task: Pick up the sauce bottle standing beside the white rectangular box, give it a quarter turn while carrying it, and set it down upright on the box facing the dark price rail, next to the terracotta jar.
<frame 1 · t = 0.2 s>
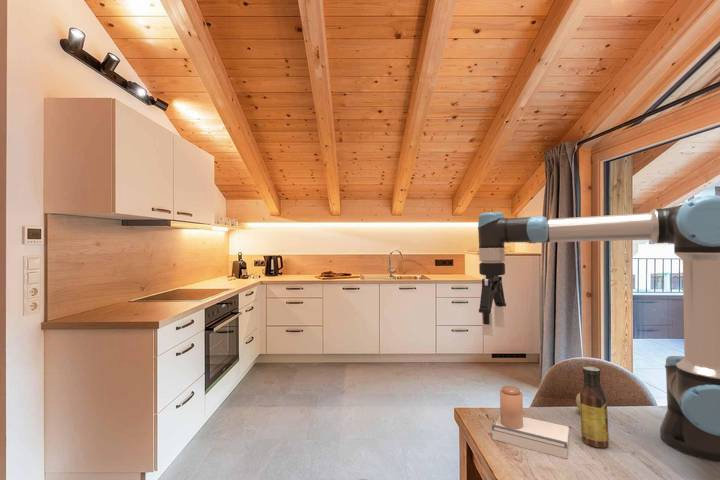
hand: (493, 330, 110), 28 cm above the table, fingers open, 13 cm apart
fruit: (589, 414, 113), on the table
sauce bottle: (594, 443, 97), on the table
terracotta jar: (511, 423, 102), point 2 cm above the table, touching white rectangular box
white rectangular box: (531, 437, 100), on the table
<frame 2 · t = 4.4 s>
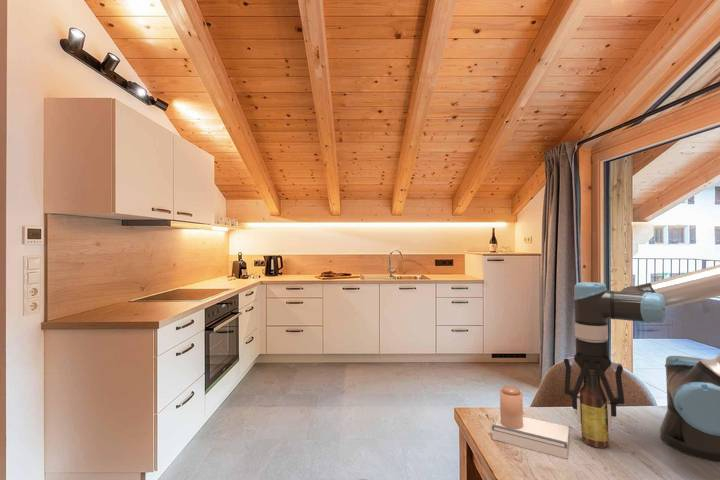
hand: (594, 424, 97), 5 cm above the table, fingers closed on sauce bottle, 6 cm apart
sauce bottle: (594, 443, 97), on the table, touching gripper
everything else where it was.
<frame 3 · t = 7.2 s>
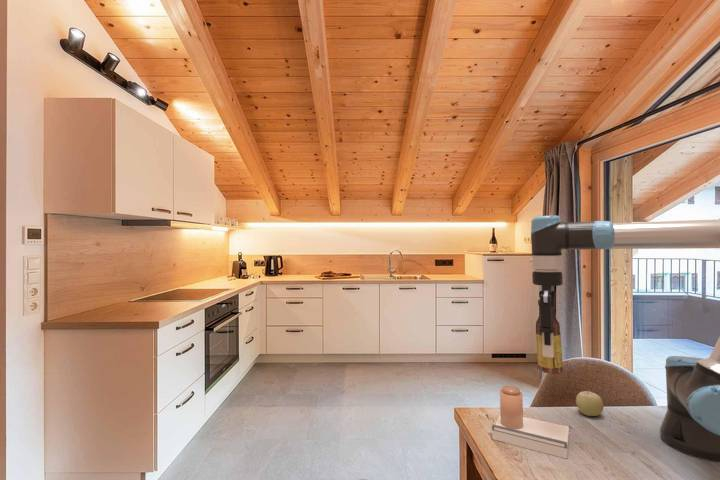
hand: (549, 353, 99), 24 cm above the table, fingers closed on sauce bottle, 6 cm apart
sauce bottle: (549, 371, 99), point 19 cm above the table, touching gripper
everything else where it was.
when the fingers open (8 cm above the table, at t = 10.5 s): sauce bottle stays where it is, resting on white rectangular box.
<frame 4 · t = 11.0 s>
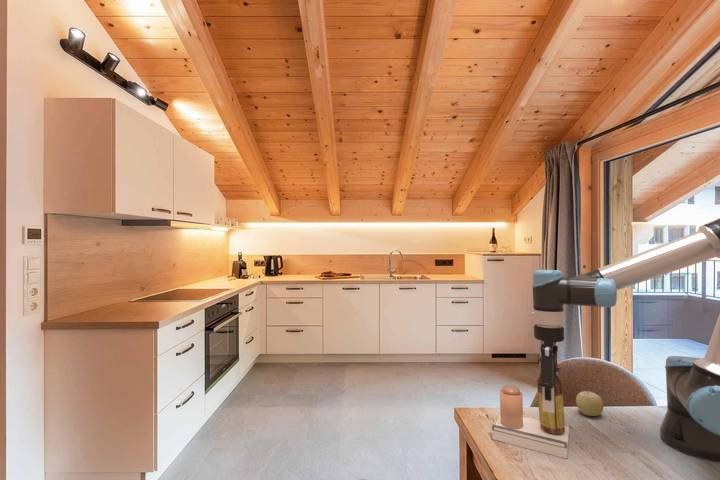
hand: (550, 402, 99), 10 cm above the table, fingers open, 12 cm apart
sauce bottle: (551, 430, 98), point 2 cm above the table, touching white rectangular box
everything else where it was.
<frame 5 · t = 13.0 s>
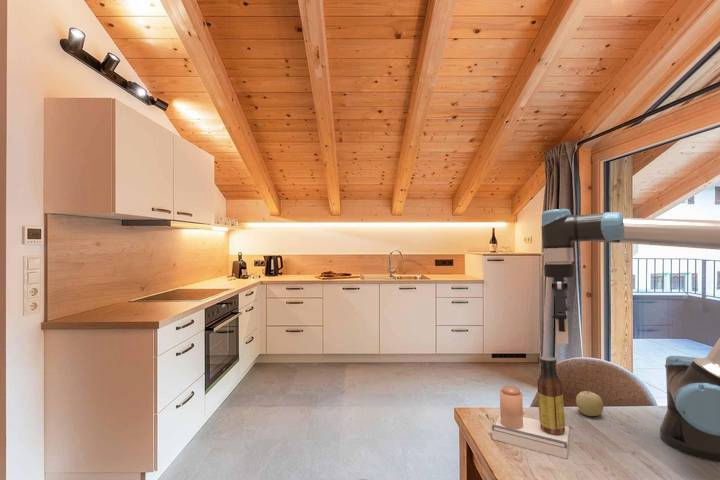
hand: (562, 338, 101), 27 cm above the table, fingers open, 13 cm apart
nothing on the table moved.
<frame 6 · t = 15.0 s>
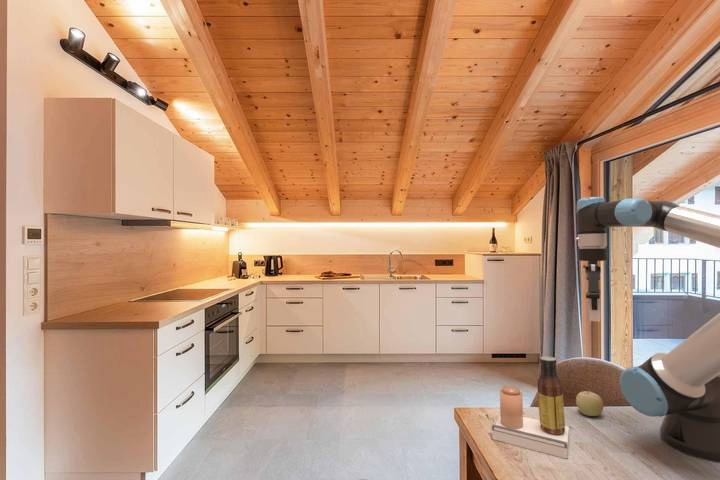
hand: (594, 317, 109), 32 cm above the table, fingers open, 13 cm apart
nothing on the table moved.
at the end: sauce bottle inside the target area on the white rectangular box (2.3 cm from its centre), point 2.3 cm above the white rectangular box's base; sauce bottle tilted 0°; the gripper is holding nothing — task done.
